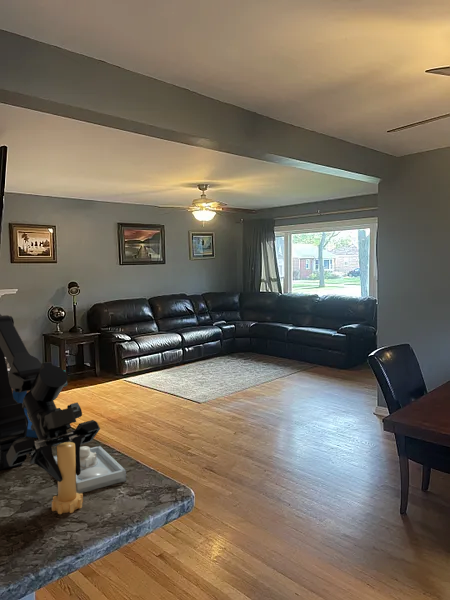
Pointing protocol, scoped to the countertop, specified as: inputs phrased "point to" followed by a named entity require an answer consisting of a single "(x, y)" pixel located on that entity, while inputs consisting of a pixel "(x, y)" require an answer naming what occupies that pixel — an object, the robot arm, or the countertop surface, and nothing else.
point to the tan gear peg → (67, 480)
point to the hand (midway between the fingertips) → (70, 477)
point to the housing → (97, 469)
